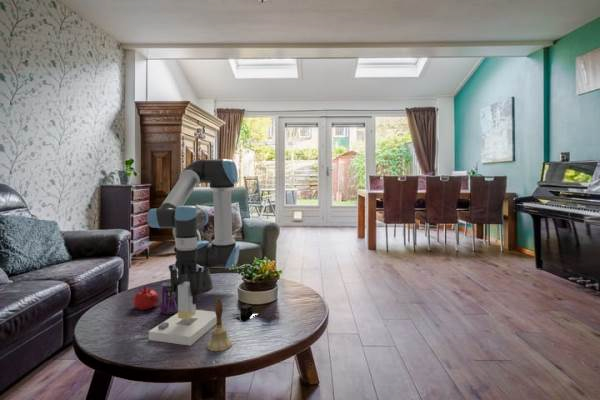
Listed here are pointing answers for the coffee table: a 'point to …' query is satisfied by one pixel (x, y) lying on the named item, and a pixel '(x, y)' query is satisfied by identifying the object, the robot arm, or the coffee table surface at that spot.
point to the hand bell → (219, 332)
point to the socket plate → (184, 328)
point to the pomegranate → (145, 299)
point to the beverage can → (168, 299)
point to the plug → (184, 301)
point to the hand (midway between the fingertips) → (187, 311)
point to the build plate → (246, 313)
